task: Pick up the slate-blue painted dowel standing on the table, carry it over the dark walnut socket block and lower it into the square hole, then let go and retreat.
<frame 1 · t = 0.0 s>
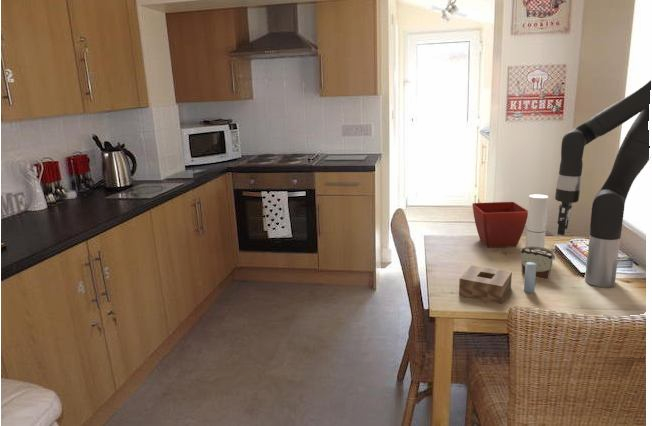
hand: (562, 231, 171), 17 cm above the table, tool pointing down, fingers open, 8 cm apart
plant pot: (497, 243, 214), on the table
dowel: (529, 291, 163), on the table
socket block: (485, 291, 165), on the table
cylindrical container: (534, 255, 198), on the table
food container: (537, 275, 177), on the table
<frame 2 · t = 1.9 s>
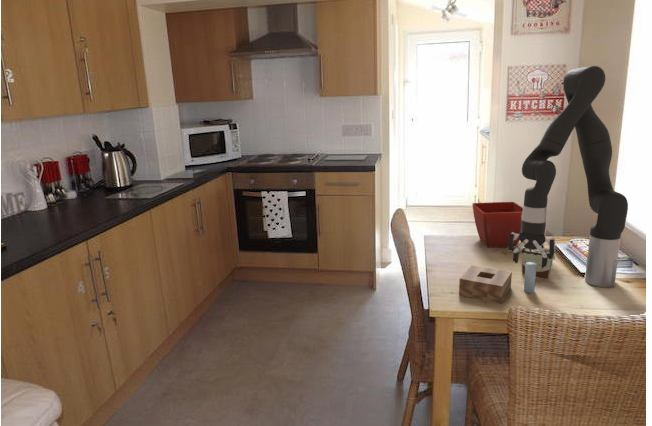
hand: (529, 264, 161), 9 cm above the table, tool pointing down, fingers open, 8 cm apart
nothing on the table moved.
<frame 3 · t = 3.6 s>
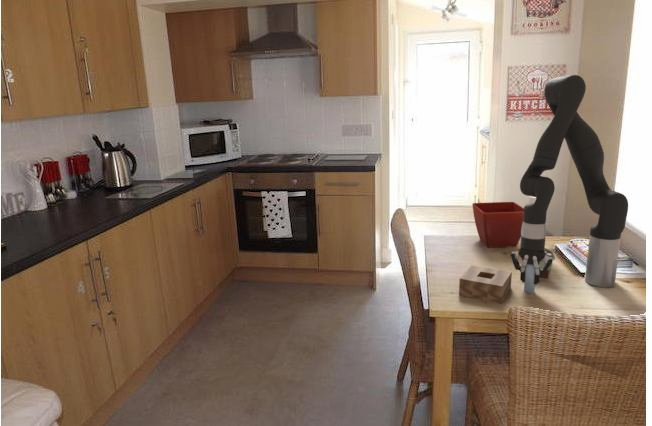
hand: (529, 282, 163), 3 cm above the table, tool pointing down, fingers closed on dowel, 3 cm apart
dowel: (529, 291, 163), on the table, touching gripper
everything else where it was.
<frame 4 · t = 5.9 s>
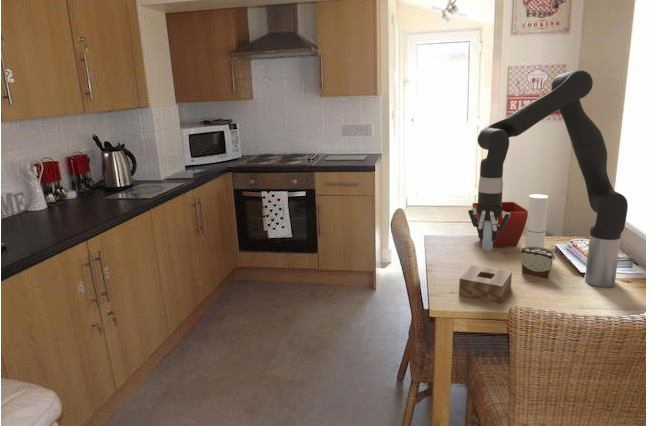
hand: (487, 239, 160), 19 cm above the table, tool pointing down, fingers closed on dowel, 3 cm apart
dowel: (487, 248, 161), point 16 cm above the table, touching gripper
everything else where it was.
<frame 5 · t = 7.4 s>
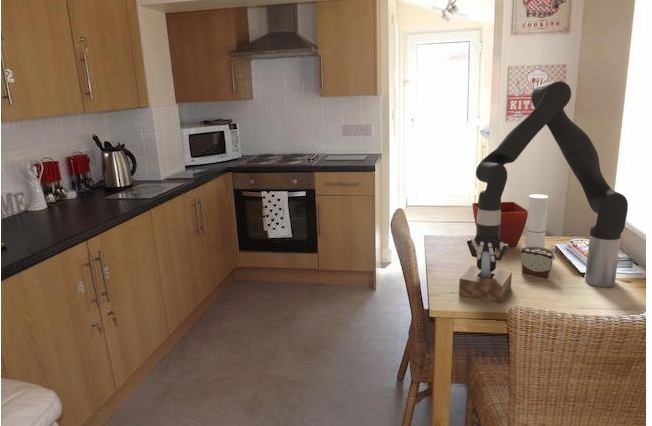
hand: (486, 269, 163), 8 cm above the table, tool pointing down, fingers closed on dowel, 3 cm apart
dowel: (485, 278, 163), point 5 cm above the table, touching gripper
everything else where it was.
when the fingers open (7 cm above the table, at t = 8.3 s): dowel drops 2 cm, resting on socket block.
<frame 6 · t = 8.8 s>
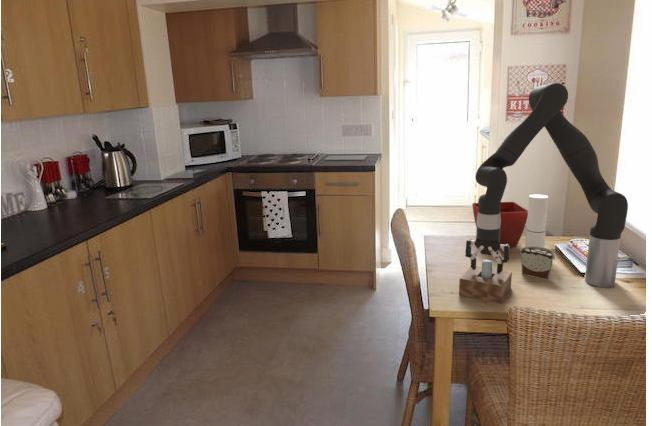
hand: (486, 271, 163), 8 cm above the table, tool pointing down, fingers open, 8 cm apart
dowel: (485, 288, 164), point 1 cm above the table, touching socket block
everything else where it was.
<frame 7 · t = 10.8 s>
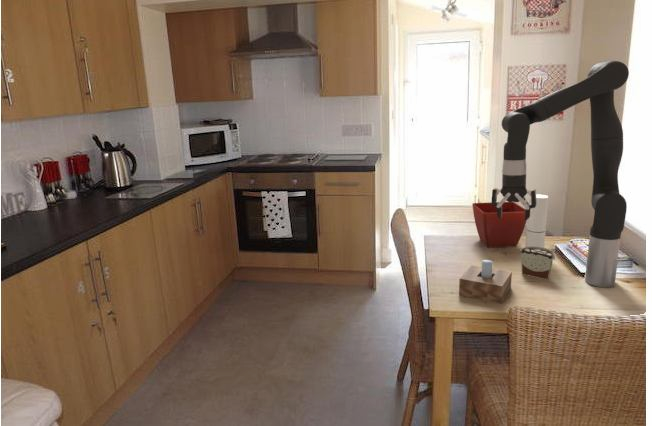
hand: (513, 218, 164), 24 cm above the table, tool pointing down, fingers open, 8 cm apart
nothing on the table moved.
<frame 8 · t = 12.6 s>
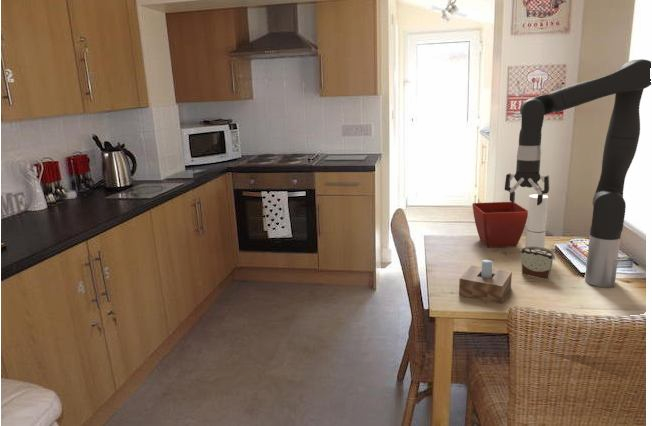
hand: (525, 203, 168), 28 cm above the table, tool pointing down, fingers open, 8 cm apart
nothing on the table moved.
at the end: dowel 0.2 cm off-centre on the socket block, point 1.0 cm above the socket block's base; dowel tilted 0°; the gripper is holding nothing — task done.
